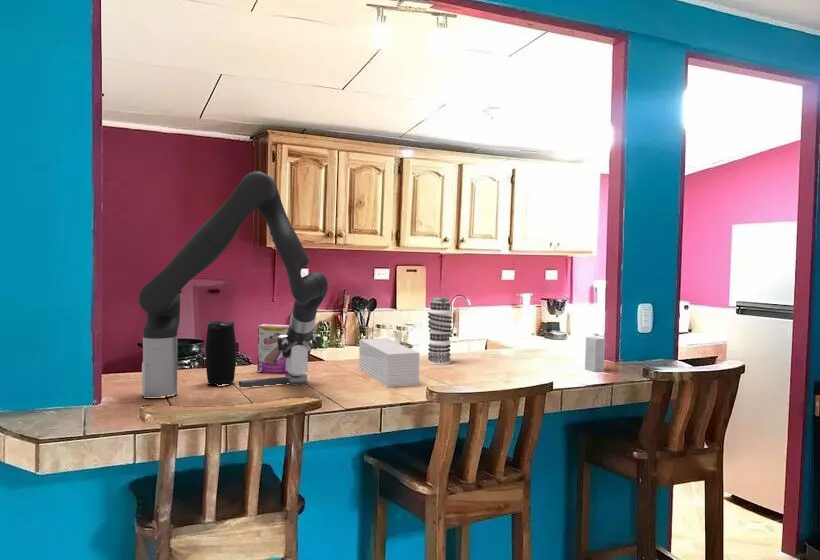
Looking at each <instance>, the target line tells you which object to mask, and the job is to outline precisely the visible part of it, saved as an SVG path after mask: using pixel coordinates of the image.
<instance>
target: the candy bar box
mask: <svg viewBox="0 0 820 560" xmlns="http://www.w3.org/2000/svg"><path fill="white" fill-rule="evenodd" d="M288 329H289V324H269V323H268V324H266V323H263V324H259V325H258V326H257V372H258V371H260V372H268V373H267V374H281V373H285V375H286V374H288V373H289V374H291V373H290V372H288V371H286V358H284V356H283V355H282V350H281V351H279V350H278V344H277V334H278V333H280V334H281V335H286V333H288ZM285 342H286V339H285V340H284V341H283V343H282V344H284V343H285ZM260 372H259V373H260Z"/></svg>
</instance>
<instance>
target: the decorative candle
mask: <svg viewBox="0 0 820 560" xmlns="http://www.w3.org/2000/svg"><path fill="white" fill-rule="evenodd" d="M429 302H430V303H429V304H430V305H429V307H430V308H429V311H428V312H427V315H428V316H427V317H428V319H429V320H428V321H427V323H428V325H427V326H428V327H427V328H429V329H428V333H429V341H428V342H429V344H428V349H427V351H429V352H427V355H428V357H427V360H428V361H427V362H428V364H430V365H435V364H436V365H438V366H443V365H444V364H446V365H450V364H451V361H450V360H451V356H452V355H451V353H450V351H451V347H452V346H451V340H450V334H451V333H452V330H451V328H452V326H451V325H450V324H451V323H453V321H452V319H453V317H452V316H451V315H450V314H451V301H450V299H449V298H448V297H442V296H439V297H433V298H432V299H431V300H430V301H429ZM449 363H450V364H449ZM444 366H445V365H444Z"/></svg>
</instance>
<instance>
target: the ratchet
mask: <svg viewBox="0 0 820 560" xmlns="http://www.w3.org/2000/svg"><path fill="white" fill-rule="evenodd" d="M287 383H289V384H304V385H307V384H308V374H307V373H304V372H299V373H289V374H285V376H282V377H281V376H278V377H269V378H260V379H258V378H257V379H256V378H255V379H248V380H247V379H246V380H239V381H238V387H239V386H240V387H252V386H264V385H276V384H287ZM306 383H307V384H306Z"/></svg>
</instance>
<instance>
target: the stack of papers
mask: <svg viewBox="0 0 820 560" xmlns="http://www.w3.org/2000/svg"><path fill="white" fill-rule="evenodd" d="M358 341H359V345H358V346H359V348H358V350H359V351H358V353H359V354H358V368H361V369H362V370H363V371H362V370H361V369H360V370H361V371H362V372H364V371H365V372H366V373H365V372H364V373H365V374H367V375H368V376H370V377H371V378H373V379H374V380H376V381H377V380H378V382H379V383H380V382H381V383H380V384H382V385H383V384H384V385H383V386H385V387H386V386H387V387H386V388H395V387H394V386H399V387H411V386H413V385H415V386H420V383H419V382H420V352H418V351H417V350H414V349H412V348H410V347H408V346H405V345H403V344H401V343H398V342H396V341H394V340H391V339H389V338H385V337H384V338H366V339H365V338H363V339H359V340H358Z"/></svg>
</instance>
